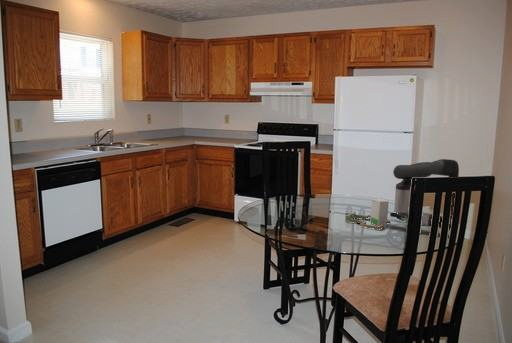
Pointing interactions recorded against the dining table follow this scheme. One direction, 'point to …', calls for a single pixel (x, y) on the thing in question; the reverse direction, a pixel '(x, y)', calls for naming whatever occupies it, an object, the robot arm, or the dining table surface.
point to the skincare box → (379, 211)
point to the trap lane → (362, 223)
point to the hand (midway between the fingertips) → (390, 214)
